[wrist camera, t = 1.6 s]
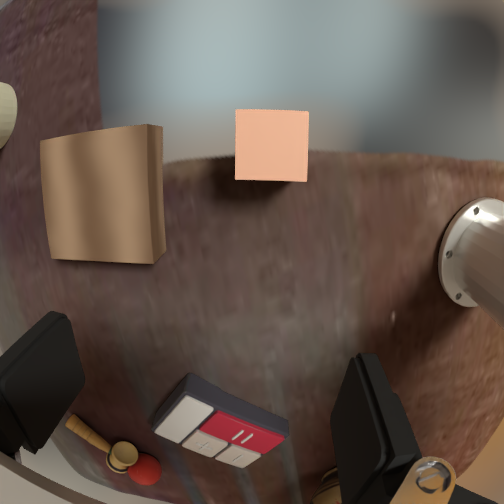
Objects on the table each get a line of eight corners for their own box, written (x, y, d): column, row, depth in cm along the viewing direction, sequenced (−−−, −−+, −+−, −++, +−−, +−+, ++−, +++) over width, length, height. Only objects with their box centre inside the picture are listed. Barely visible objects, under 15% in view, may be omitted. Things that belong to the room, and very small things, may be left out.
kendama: (75, 421, 44) (156, 476, 43) (57, 439, 37) (145, 499, 37) (84, 398, 43) (172, 457, 42) (64, 416, 36) (161, 482, 36)
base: (163, 126, 26) (147, 124, 23) (167, 249, 30) (153, 263, 26) (62, 139, 27) (40, 141, 23) (71, 246, 31) (51, 258, 27)
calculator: (243, 471, 37) (148, 434, 34) (244, 449, 41) (155, 412, 38) (291, 439, 34) (182, 395, 31) (289, 415, 38) (189, 370, 35)
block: (300, 119, 25) (308, 111, 20) (299, 174, 27) (306, 181, 21) (243, 117, 26) (235, 109, 20) (242, 173, 27) (235, 179, 21)
